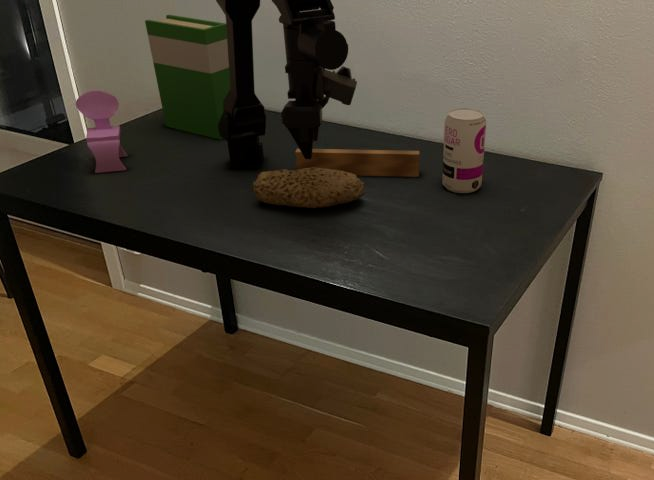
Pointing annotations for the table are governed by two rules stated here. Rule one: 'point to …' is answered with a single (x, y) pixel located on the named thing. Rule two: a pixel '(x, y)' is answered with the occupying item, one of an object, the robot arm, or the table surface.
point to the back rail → (363, 161)
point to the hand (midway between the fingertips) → (311, 149)
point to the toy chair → (102, 130)
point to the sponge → (308, 187)
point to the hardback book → (190, 72)
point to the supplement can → (463, 150)
